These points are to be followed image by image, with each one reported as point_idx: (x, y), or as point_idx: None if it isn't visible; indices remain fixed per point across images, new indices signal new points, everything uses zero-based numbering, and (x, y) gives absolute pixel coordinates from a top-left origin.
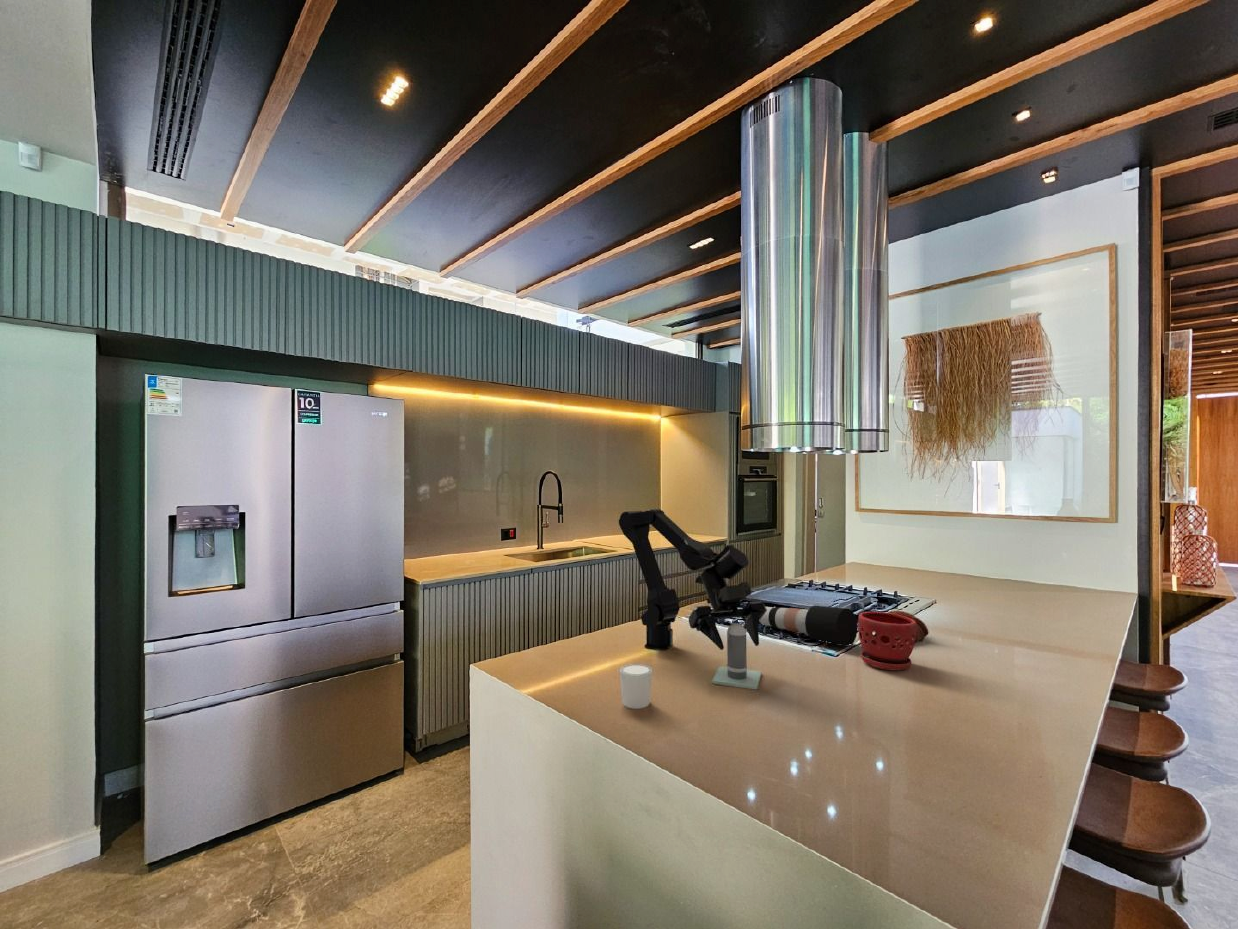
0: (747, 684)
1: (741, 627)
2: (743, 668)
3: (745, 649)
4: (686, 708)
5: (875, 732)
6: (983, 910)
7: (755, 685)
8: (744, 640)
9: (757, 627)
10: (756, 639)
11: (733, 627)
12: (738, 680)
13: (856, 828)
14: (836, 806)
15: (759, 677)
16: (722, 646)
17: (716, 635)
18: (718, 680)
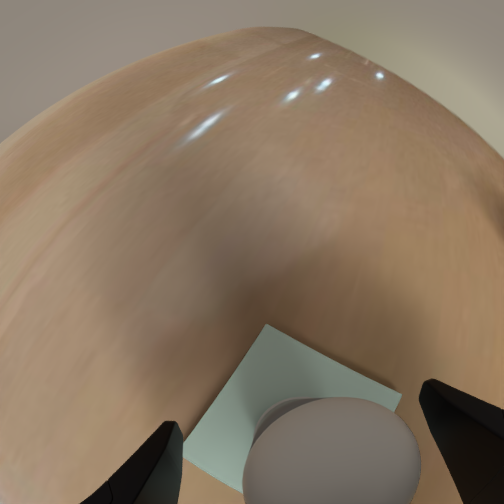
0: (291, 348)
1: (320, 440)
2: (285, 401)
3: (273, 412)
4: (470, 241)
5: (153, 124)
6: (273, 28)
7: (265, 336)
8: (285, 410)
9: (101, 491)
10: (167, 437)
11: (405, 442)
12: (308, 391)
13: (305, 48)
14: (308, 57)
15: (212, 404)
16: (435, 380)
17: (491, 406)
18: (380, 397)
